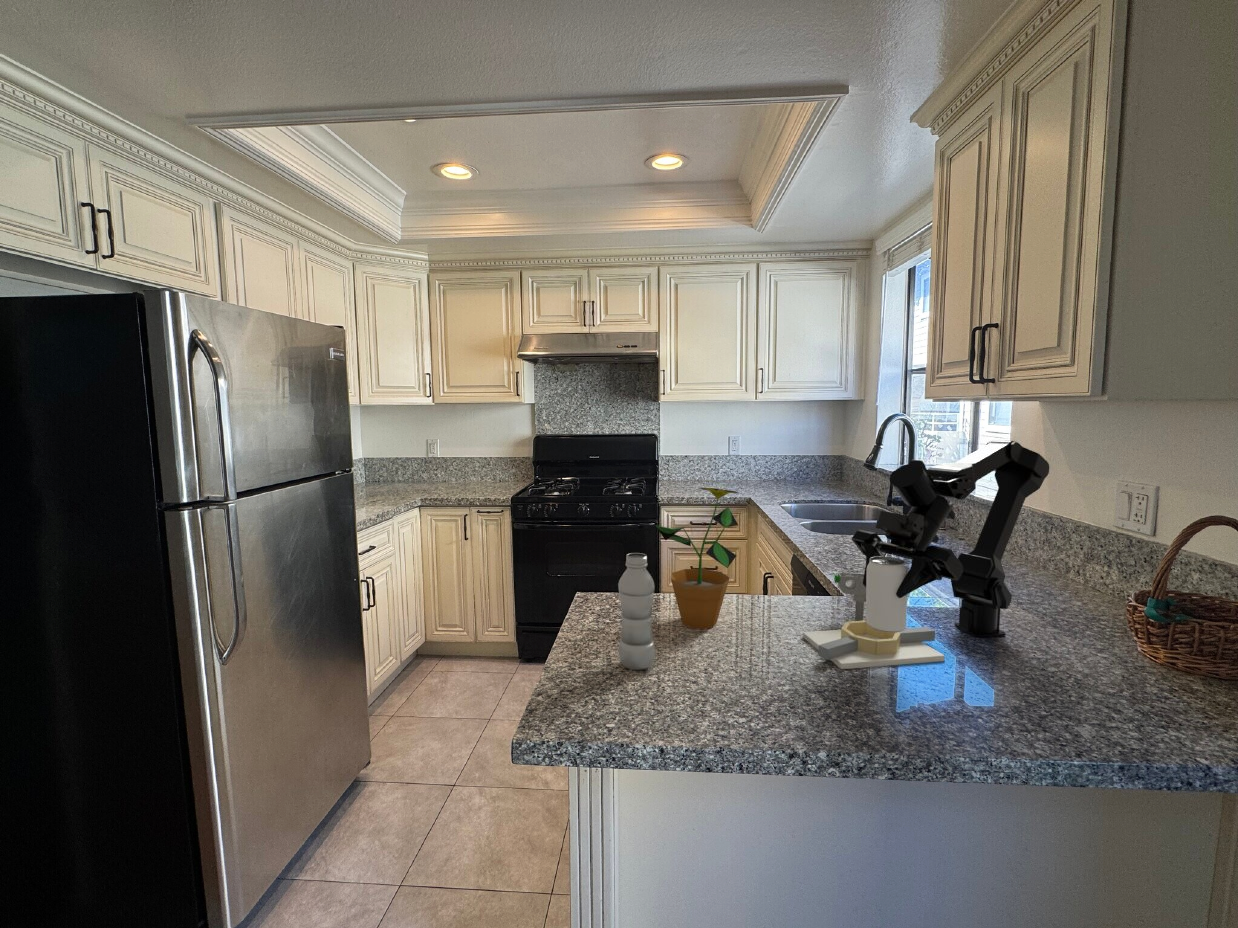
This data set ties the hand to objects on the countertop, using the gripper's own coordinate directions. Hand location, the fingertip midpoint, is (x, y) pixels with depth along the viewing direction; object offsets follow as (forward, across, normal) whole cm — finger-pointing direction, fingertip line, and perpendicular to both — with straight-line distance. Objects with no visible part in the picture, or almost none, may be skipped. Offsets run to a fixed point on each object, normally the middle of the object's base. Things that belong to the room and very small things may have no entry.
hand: (880, 590), depth 97 cm
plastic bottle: (+37, -19, -19) cm, 45 cm away
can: (+4, 0, +6) cm, 7 cm away
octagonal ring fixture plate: (+7, -5, +12) cm, 14 cm away
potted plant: (+22, -31, -3) cm, 38 cm away
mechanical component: (0, -15, +19) cm, 24 cm away
